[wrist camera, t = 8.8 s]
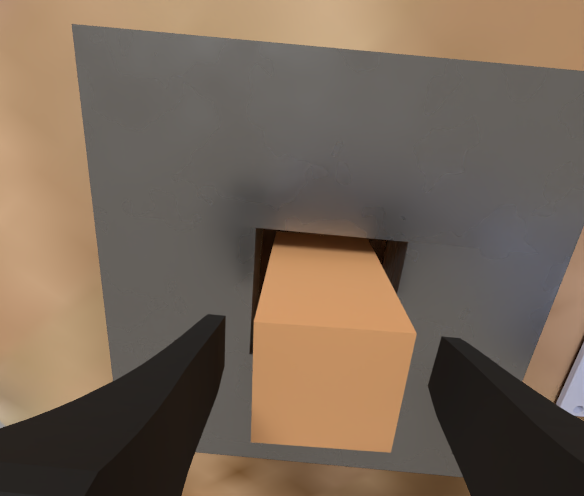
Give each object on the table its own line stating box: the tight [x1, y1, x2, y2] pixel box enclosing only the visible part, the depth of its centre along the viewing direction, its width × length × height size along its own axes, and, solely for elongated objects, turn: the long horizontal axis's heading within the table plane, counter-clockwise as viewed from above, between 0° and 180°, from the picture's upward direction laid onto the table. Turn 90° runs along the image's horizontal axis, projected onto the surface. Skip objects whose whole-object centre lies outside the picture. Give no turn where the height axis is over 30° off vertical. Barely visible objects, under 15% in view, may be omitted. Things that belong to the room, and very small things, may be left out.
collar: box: [72, 24, 584, 477], centre depth 16 cm, size 19×19×3 cm
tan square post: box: [251, 232, 417, 453], centre depth 14 cm, size 4×4×8 cm
